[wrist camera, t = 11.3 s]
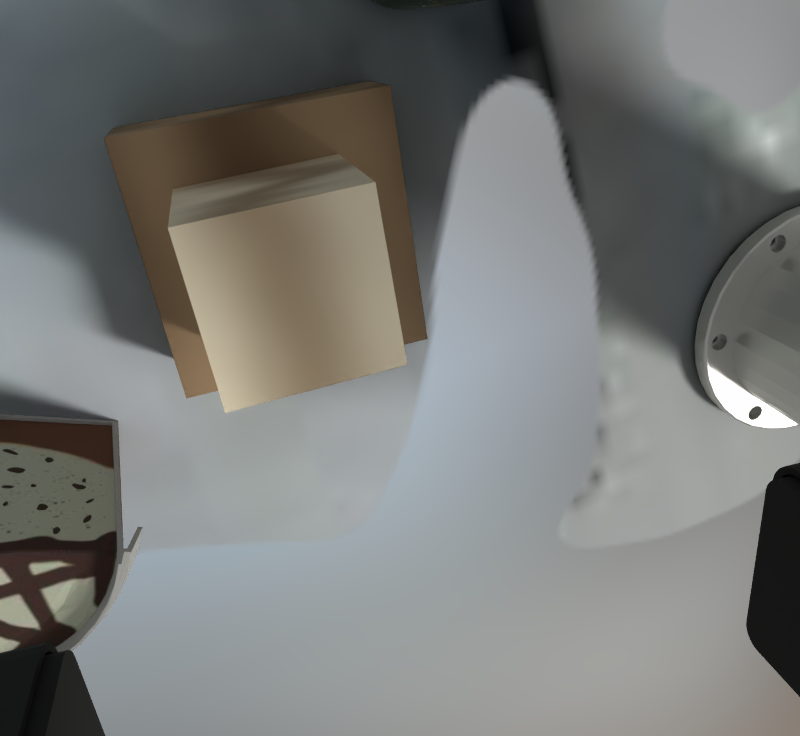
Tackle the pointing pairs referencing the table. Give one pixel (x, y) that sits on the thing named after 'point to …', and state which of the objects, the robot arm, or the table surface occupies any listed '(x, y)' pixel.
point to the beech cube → (288, 278)
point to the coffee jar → (420, 3)
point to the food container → (59, 529)
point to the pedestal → (249, 152)
